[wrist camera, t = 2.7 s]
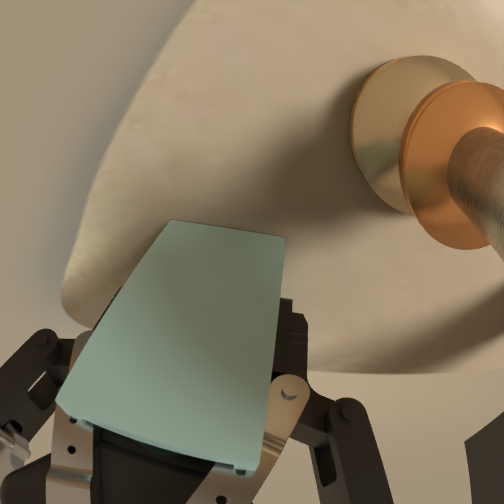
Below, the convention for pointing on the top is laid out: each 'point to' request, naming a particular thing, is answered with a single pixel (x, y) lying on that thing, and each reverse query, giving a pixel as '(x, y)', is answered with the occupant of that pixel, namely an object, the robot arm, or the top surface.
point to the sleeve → (187, 347)
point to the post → (434, 148)
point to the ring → (487, 463)
